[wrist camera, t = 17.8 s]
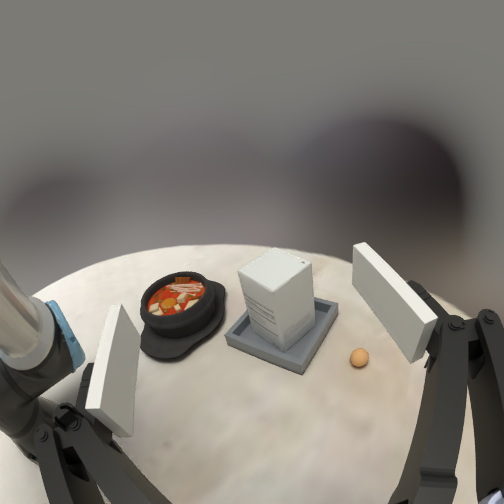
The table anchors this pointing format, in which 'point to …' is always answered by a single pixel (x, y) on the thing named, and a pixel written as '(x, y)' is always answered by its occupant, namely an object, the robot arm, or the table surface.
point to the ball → (359, 357)
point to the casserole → (179, 313)
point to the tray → (296, 355)
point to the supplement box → (279, 297)
